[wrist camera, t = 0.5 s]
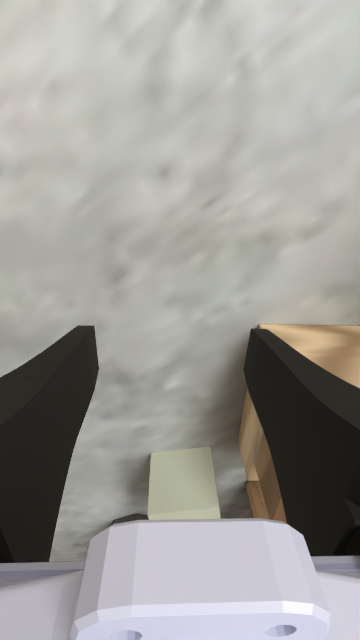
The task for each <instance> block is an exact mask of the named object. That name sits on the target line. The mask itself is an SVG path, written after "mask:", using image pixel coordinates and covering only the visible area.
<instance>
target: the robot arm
mask: <svg viewBox="0 0 360 640" xmlns="http://www.w3.org/2000/svg"><path fill="white" fill-rule="evenodd" d="M98 370H99V366H98V357H97V347H96V338H95V329H94V326H77V327H75V328H74V329H73V330H71V331H70V332H69V333H67V334H66V335H65V336H63V337H62V338H61V339H59V340H58V341H57V342H55V343H54V344H53V345H51V346H50V347H49V348H47V349H46V350H44V351H43V352H41V353H40V354H38V355H37V356H35V357H34V358H32V359H31V360H29V361H28V362H26V363H25V364H23V365H22V366H20V367H19V368H17V369H15V370H13V371H12V372H10V373H8V374H6V375H4V376H2V377H1V378H0V640H360V388H358V387H356V386H354V385H352V384H350V383H348V382H346V381H344V380H343V379H341V378H339V377H337V376H335V375H333V374H332V373H330V372H328V371H327V370H325V369H323V368H322V367H320V366H319V365H317V364H316V363H314V362H312V361H311V360H309V359H308V358H306V357H305V356H304V355H302V354H301V353H299V352H298V351H297V350H295V349H294V348H292V347H291V346H290V345H288V344H287V343H286V342H284V341H283V340H282V339H280V338H279V337H278V336H276V335H275V334H273V333H272V332H271V331H269V330H267V329H251V332H250V338H249V343H248V349H247V355H246V360H245V366H244V373H245V378H246V383H247V387H248V391H249V394H250V397H251V400H252V402H253V405H254V408H255V410H256V413H257V416H258V418H259V421H260V424H261V426H262V429H263V432H264V434H265V437H266V440H267V443H268V446H269V449H270V453H271V457H272V461H273V465H274V468H275V472H276V476H277V481H278V485H279V489H280V494H281V498H282V502H283V507H284V512H285V516H286V521H287V524H286V523H284V522H283V521H276V520H269V519H262V518H234V519H167V520H135V521H129V522H123V523H117V524H113V525H111V526H110V527H108V528H106V529H105V530H103V531H101V532H100V533H98V534H97V535H95V536H94V537H93V538H91V540H90V543H89V546H88V549H87V552H86V556H85V561H80V562H49V558H50V553H51V548H52V542H53V537H54V532H55V528H56V523H57V518H58V513H59V508H60V504H61V499H62V495H63V490H64V486H65V482H66V477H67V473H68V469H69V465H70V461H71V457H72V453H73V449H74V446H75V443H76V439H77V437H78V434H79V431H80V428H81V426H82V423H83V420H84V417H85V415H86V412H87V409H88V406H89V404H90V401H91V398H92V395H93V392H94V389H95V384H96V380H97V375H98Z"/></svg>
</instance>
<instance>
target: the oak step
mask: <svg viewBox="0 0 360 640" xmlns="http://www.w3.org/2000/svg"><path fill="white" fill-rule="evenodd" d="M259 329H267V330H269V331H271V332H272V333H273V334H275V335H276V336H278V337H279V338H280V339H282V340H283V341H284V342H286V343H287V344H288V345H290V346H291V347H292V348H294V349H295V350H297V351H298V352H299V353H301V354H302V355H304V356H305V357H306V358H308V359H309V360H311V361H312V362H314V363H316V364H317V365H319V366H320V367H322V368H323V369H325V370H327V371H328V372H330V373H332V374H333V375H335V376H337V377H339V378H341V379H343V380H344V381H346V382H348V383H350V384H352V385H354V386H356V387H358V388H360V326H338V325H282V324H259ZM260 429H261V424H260V421H259V418H258V416H257V413H256V410H255V408H254V405H253V402H252V400H251V397H250V394H249V391H248V387H247V392H246V397H245V402H244V408H243V413H242V418H241V423H240V429H239V434H238V439H237V440H238V444H239V448H240V452H241V456H242V460H243V464H244V468H245V472H246V476H247V481H259V479H258V475H257V472H256V468H255V465H254V461H253V458H254V454H255V450H256V445H257V441H258V437H259V433H260Z"/></svg>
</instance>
